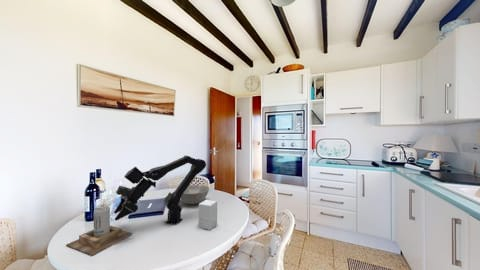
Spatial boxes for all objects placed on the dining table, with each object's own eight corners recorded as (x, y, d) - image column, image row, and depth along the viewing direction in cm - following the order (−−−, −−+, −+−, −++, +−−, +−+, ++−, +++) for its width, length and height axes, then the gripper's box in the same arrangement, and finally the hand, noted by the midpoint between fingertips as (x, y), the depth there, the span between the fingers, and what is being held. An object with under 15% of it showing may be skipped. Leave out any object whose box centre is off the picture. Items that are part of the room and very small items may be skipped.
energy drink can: (90, 241, 86) (90, 208, 86) (100, 234, 92) (100, 203, 92) (103, 242, 86) (103, 208, 85) (112, 235, 92) (112, 203, 91)
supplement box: (217, 224, 104) (217, 201, 104) (209, 230, 98) (210, 205, 98) (206, 221, 108) (206, 199, 107) (198, 227, 101) (198, 203, 101)
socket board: (132, 234, 93) (132, 227, 93) (92, 256, 77) (92, 247, 77) (108, 227, 100) (108, 220, 100) (66, 245, 84) (66, 237, 84)
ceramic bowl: (206, 209, 125) (206, 193, 125) (171, 208, 126) (171, 193, 125) (211, 197, 147) (211, 184, 147) (181, 197, 148) (181, 184, 148)
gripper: (126, 176, 102) (100, 201, 96) (129, 183, 87) (99, 214, 81) (142, 188, 107) (119, 213, 101) (148, 197, 91) (121, 227, 85)
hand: (115, 216), depth 92 cm, fingers open, 9 cm apart
